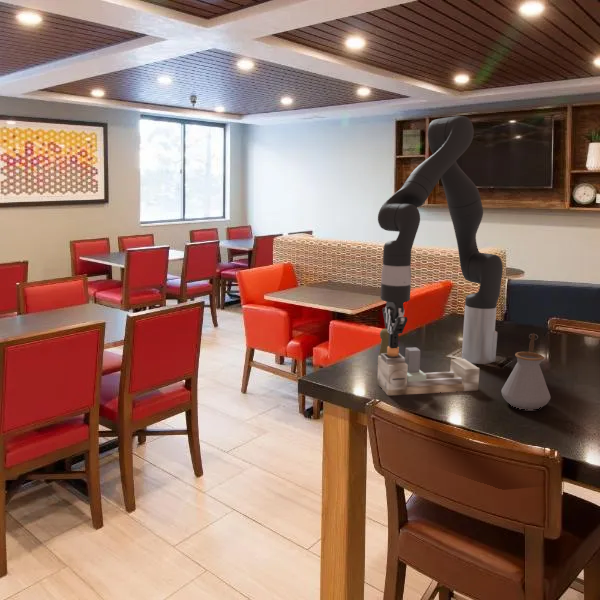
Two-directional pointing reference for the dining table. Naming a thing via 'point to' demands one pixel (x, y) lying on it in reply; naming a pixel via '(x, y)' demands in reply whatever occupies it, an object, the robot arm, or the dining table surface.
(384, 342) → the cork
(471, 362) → the robot arm
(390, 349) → the button
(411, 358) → the carriage
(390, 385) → the rail
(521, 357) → the coffee pot
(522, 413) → the dining table surface
